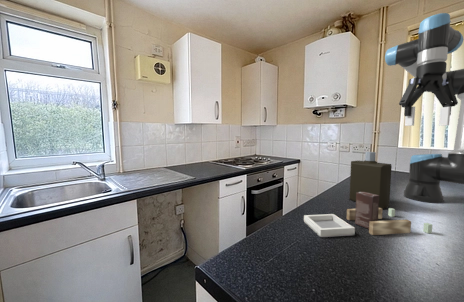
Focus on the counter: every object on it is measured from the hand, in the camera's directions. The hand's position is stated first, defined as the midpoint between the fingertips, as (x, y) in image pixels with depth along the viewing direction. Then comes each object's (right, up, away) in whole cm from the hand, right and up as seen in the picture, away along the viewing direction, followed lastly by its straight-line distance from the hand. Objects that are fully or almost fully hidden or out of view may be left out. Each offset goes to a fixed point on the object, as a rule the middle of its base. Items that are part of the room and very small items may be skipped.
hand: (426, 125), depth 73 cm
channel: (-16, -37, +3) cm, 40 cm away
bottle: (-4, -35, +26) cm, 44 cm away
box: (-20, -37, +2) cm, 42 cm away
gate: (-3, -36, +4) cm, 37 cm away
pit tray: (-35, -37, +1) cm, 51 cm away
